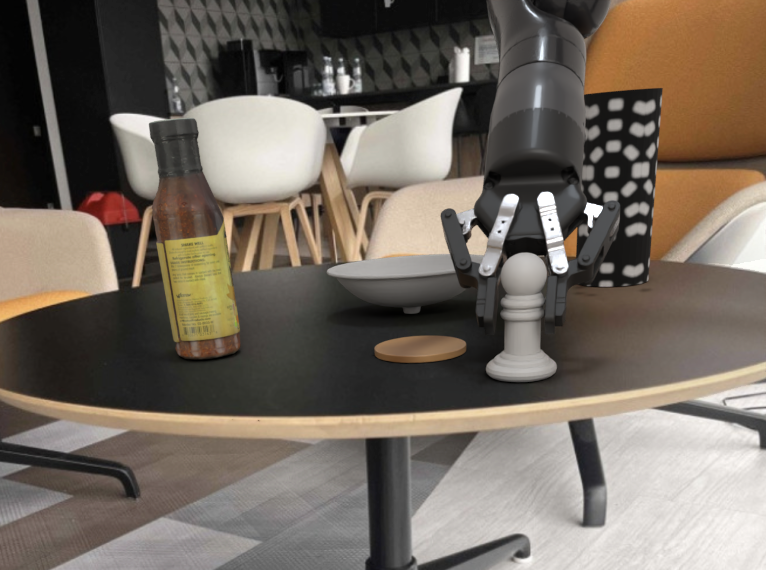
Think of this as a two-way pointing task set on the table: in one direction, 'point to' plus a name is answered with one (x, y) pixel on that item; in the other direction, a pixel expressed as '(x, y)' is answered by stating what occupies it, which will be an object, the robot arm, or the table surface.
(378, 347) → the cork coaster
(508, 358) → the chess piece
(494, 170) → the robot arm
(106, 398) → the table surface
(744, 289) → the table surface
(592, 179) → the spotted tube
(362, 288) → the dish
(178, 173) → the sauce bottle
